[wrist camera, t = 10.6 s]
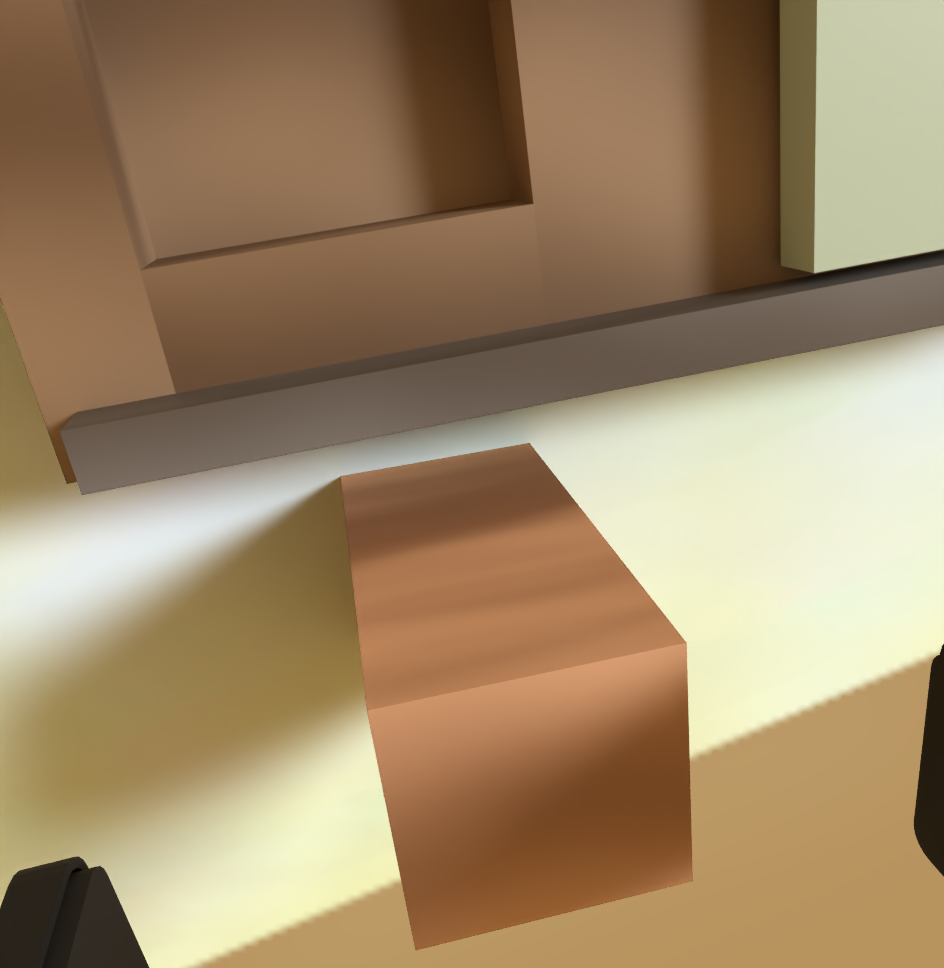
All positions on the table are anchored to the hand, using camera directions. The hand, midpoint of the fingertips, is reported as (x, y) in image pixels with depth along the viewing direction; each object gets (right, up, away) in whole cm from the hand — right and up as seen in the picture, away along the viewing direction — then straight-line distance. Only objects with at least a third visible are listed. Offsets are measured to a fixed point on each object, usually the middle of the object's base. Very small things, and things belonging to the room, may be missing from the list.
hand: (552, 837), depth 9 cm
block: (-1, +3, +9) cm, 9 cm away
